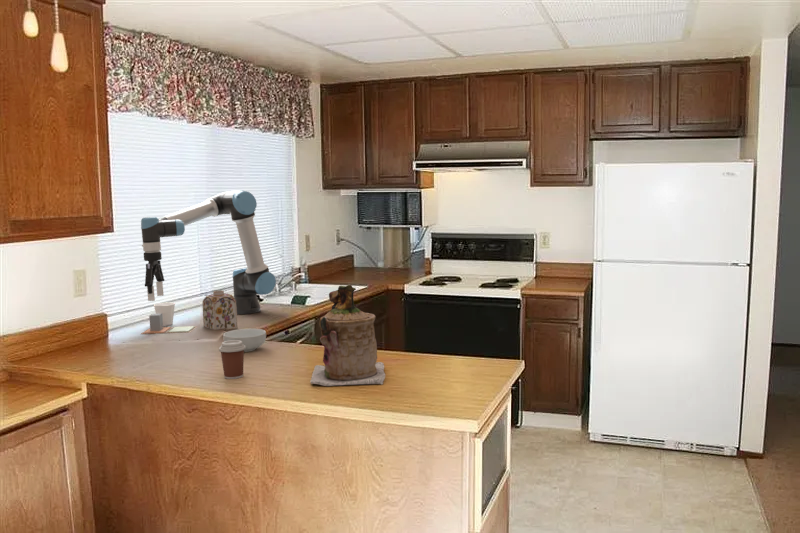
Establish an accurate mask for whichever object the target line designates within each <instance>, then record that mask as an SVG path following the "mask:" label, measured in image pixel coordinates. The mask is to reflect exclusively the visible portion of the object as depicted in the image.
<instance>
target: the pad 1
mask: <svg viewBox="0 0 800 533" xmlns="http://www.w3.org/2000/svg"><path fill="white" fill-rule="evenodd" d="M170 328H171V326H167V327H166V326H163V329H162V330H161V331H150V329H149V328H147V329H148V330H147V329H146V330H147V331H146V330H144V331H145V332H144V331H143V332H144V333H163V334H165V333H164V332H166V331H167V330H168V329H170Z"/></svg>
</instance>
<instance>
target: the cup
mask: <svg viewBox="0 0 800 533" xmlns="http://www.w3.org/2000/svg"><path fill="white" fill-rule="evenodd" d="M153 307H154V312H155V314H162V317H163V327H166V326H167V327H168V326H171V325H173V324H174V317H175V315H174V314H175V309H176V308H175V307H176V302H172V301H171V302H170V301H169V302H158V303H154V304H153Z"/></svg>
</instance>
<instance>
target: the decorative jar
mask: <svg viewBox="0 0 800 533" xmlns="http://www.w3.org/2000/svg"><path fill="white" fill-rule="evenodd" d="M202 317H203V318H202V320H203V327H204V328H207V329H210V330H214V331H217V330H221V329H222V330H223V329H224V330H223V331H224V332H225V330H227V331H232V330H237V329H238V314H237V309H236V300H235V299H234V295H233V294H231V293H225V291H224V290H222V289H218V290H214V291H213V294H208V295H206V296H205V297H204V299H203V300H202ZM231 329H232V330H231Z"/></svg>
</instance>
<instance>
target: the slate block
mask: <svg viewBox="0 0 800 533" xmlns="http://www.w3.org/2000/svg"><path fill="white" fill-rule="evenodd" d="M148 317H149V328H150V331H161V330H162V329H163V327H164V326H163V317H162V314H156V313H152V314H150V315H149V316H148Z"/></svg>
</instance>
